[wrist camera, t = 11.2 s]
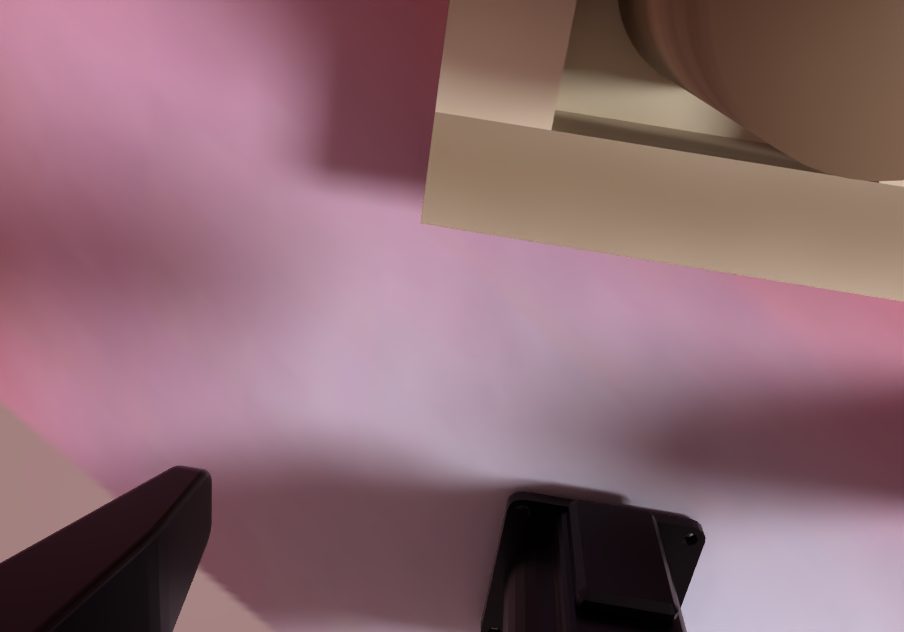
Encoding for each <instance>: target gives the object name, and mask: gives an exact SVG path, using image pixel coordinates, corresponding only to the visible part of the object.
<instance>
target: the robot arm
mask: <svg viewBox="0 0 904 632" xmlns="http://www.w3.org/2000/svg"><path fill="white" fill-rule="evenodd" d="M518 506H526V507H528V509H526V510H519V509H517V508H516V507H518ZM211 522H212V479H211V475H210V473H209V472H208V471H207V470H205V469H199V468H193V467H187V466H175V467H172V468H170V469H168V470H166V471H165V472H163V473H161V474H159V475H157V476H156V477H154V478H152V479H150V480H149V481H147V482H145V483H143V484H141V485H140V486H138V487H136V488H134V489H132V490H131V491H129V492H127V493H125V494H123V495H122V496H120V497H118V498H116V499H114V500H113V501H111V502H109V503H107V504H105V505H104V506H102V507H100V508H98V509H96V510H95V511H93V512H91V513H90V514H88V515H86V516H84V517H82V518H80V519H79V520H77V521H75V522H73V523H71V524H70V525H68V526H66V527H64V528H62V529H61V530H59V531H57V532H55V533H53V534H52V535H50V536H48V537H46V538H45V539H43V540H41V541H39V542H37V543H35V544H34V545H32V546H30V547H28V548H27V549H25V550H23V551H21V552H20V553H18V554H16V555H14V556H12V557H11V558H9V559H7V560H5V561H3V562H2V563H0V632H172V631H173V629H174V626H175V624H176V621H177V619H178V616H179V614H180V611H181V609H182V606H183V603H184V601H185V598H186V596H187V593H188V591H189V588H190V586H191V583H192V581H193V578H194V575H195V573H196V570H197V568H198V565H199V563H200V560H201V558H202V555H203V553H204V550H205V547H206V545H207V542H208V539H209V535H210V531H211ZM689 533H692V534H693V536H690V537H683V536H684V535H686V534H689ZM704 543H705V535H704V532H703V529H702V527H701V525H700V524H699V523H698V522H697V521H694V520H691V519H686V518H680V517H674V516H668V515H662V514H656V513H650V512H646V511H640V510H634V509H628V508H622V507H616V506H610V505H604V504H598V503H592V502H586V501H580V500H571V499H565V498H559V497H553V496H547V495H541V494H535V493H529V492H517V493H514V494H513V495H511V496H510V497H509V499H508V501H507V505H506V510H505V514H504V519H503V524H502V528H501V533H500V537H499V542H498V546H497V551H496V556H495V560H494V565H493V569H492V574H491V579H490V583H489V588H488V592H487V597H486V601H485V606H484V611H483V615H482V620H481V632H687V631H686V627H685V624H684V620H683V616H682V612H681V605H682V603H683V600H684V597H685V594H686V592H687V589H688V586H689V584H690V581H691V578H692V576H693V573H694V570H695V567H696V565H697V562H698V559H699V557H700V554H701V551H702V548H703V546H704ZM491 628H498V629H491Z"/></svg>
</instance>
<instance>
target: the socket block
mask: <svg viewBox="0 0 904 632" xmlns="http://www.w3.org/2000/svg"><path fill="white" fill-rule="evenodd" d="M421 224H428V225H434V226H440V227H446V228H452V229H459V230H465V231H471V232H477V233H483V234H489V235H496V236H502V237H508V238H514V239H520V240H526V241H533V242H539V243H545V244H551V245H557V246H563V247H570V248H576V249H582V250H588V251H594V252H601V253H607V254H613V255H619V256H625V257H631V258H638V259H644V260H650V261H656V262H662V263H668V264H675V265H681V266H687V267H693V268H699V269H706V270H712V271H718V272H724V273H730V274H736V275H743V276H749V277H755V278H761V279H767V280H773V281H780V282H786V283H792V284H798V285H804V286H811V287H817V288H823V289H829V290H835V291H841V292H848V293H854V294H860V295H866V296H872V297H878V298H885V299H891V300H897V301H903V302H904V180H902V181H866V180H856V179H848V178H844V177H840V176H835V175H831V174H827V173H824V172H821V171H819V170H816V169H814V168H811V167H808V166H806V165H804V164H802V163H800V162H798V161H796V160H795V159H793V158H791V157H789V156H788V155H786V154H784V153H782V152H781V151H779V150H778V149H776V148H775V147H773V146H772V145H770V144H768V143H767V142H765V141H764V140H762V139H761V138H759V137H758V136H756V135H754V134H753V133H751V132H750V131H748V130H747V129H745V128H744V127H742V126H741V125H739V124H737V123H736V122H734V121H733V120H731V119H730V118H728V117H727V116H725V115H723V114H722V113H720V112H719V111H717V110H716V109H714V108H713V107H711V106H710V105H708V104H706V103H705V102H703V101H702V100H700V99H699V98H697V97H696V96H694V95H692V94H691V93H689V92H688V91H686V90H685V89H683V88H682V87H680V86H679V85H677V84H675V83H674V82H672V81H671V80H669V79H668V78H666V77H665V76H663V75H661V74H660V73H659V72H657V71H656V70H655V69H654V68H652V67H651V66H650V65H649V64H648V63H647V62H646V61H645V60H644V59H643V58H642V57H641V56H640V54H639V53H638V52H637V50H636V49H635V47H634V46H633V44H632V43H631V41H630V39H629V37H628V35H627V33H626V30H625V28H624V25H623V22H622V19H621V15H620V10H619V6H618V0H450V1H449V9H448V17H447V24H446V32H445V40H444V47H443V55H442V63H441V70H440V78H439V86H438V93H437V101H436V109H435V116H434V124H433V132H432V139H431V147H430V155H429V162H428V170H427V178H426V185H425V193H424V201H423V208H422V216H421Z"/></svg>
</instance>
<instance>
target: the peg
mask: <svg viewBox="0 0 904 632" xmlns="http://www.w3.org/2000/svg"><path fill="white" fill-rule="evenodd" d="M618 6H619V10H620V15H621V19H622V22H623V25H624V28H625V30H626V33H627V35H628V37H629V39H630V41H631V43H632V44H633V46H634V47H635V49H636V50H637V52H638V53H639V54H640V56H641V57H642V58H643V59H644V60H645V61H646V62H647V63H648V64H649V65H650V66H651V67H652V68H654V69H655V70H656V71H657V72H659V73H660V74H661V75H663V76H665V77H666V78H668V79H669V80H671V81H672V82H674V83H675V84H677V85H679V86H680V87H682V88H683V89H685V90H686V91H688V92H689V93H691V94H692V95H694V96H696V97H697V98H699V99H700V100H702V101H703V102H705V103H706V104H708V105H710V106H711V107H713V108H714V109H716V110H717V111H719V112H720V113H722V114H723V115H725V116H727V117H728V118H730V119H731V120H733V121H734V122H736V123H737V124H739V125H741V126H742V127H744V128H745V129H747V130H748V131H750V132H751V133H753V134H754V135H756V136H758V137H759V138H761V139H762V140H764V141H765V142H767V143H768V144H770V145H772V146H773V147H775V148H776V149H778V150H779V151H781V152H782V153H784V154H786V155H788V156H789V157H791V158H793V159H795V160H796V161H798V162H800V163H802V164H804V165H806V166H808V167H811V168H814V169H816V170H819V171H821V172H824V173H827V174H831V175H835V176H840V177H844V178H848V179H856V180H866V181H902V180H904V0H618Z"/></svg>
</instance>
